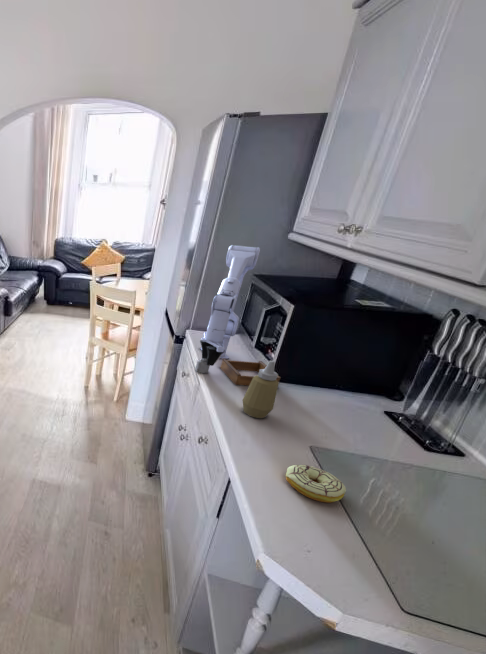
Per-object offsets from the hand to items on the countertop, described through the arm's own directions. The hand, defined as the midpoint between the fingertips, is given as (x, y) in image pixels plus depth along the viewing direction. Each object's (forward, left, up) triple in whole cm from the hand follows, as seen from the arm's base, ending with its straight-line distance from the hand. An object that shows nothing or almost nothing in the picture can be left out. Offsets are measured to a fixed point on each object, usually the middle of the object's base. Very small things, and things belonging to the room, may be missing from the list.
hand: (207, 362), depth 146 cm
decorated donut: (+61, +3, -4) cm, 61 cm away
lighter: (0, 0, -4) cm, 4 cm away
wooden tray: (+2, +14, -4) cm, 15 cm away
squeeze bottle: (+28, +5, -4) cm, 29 cm away
